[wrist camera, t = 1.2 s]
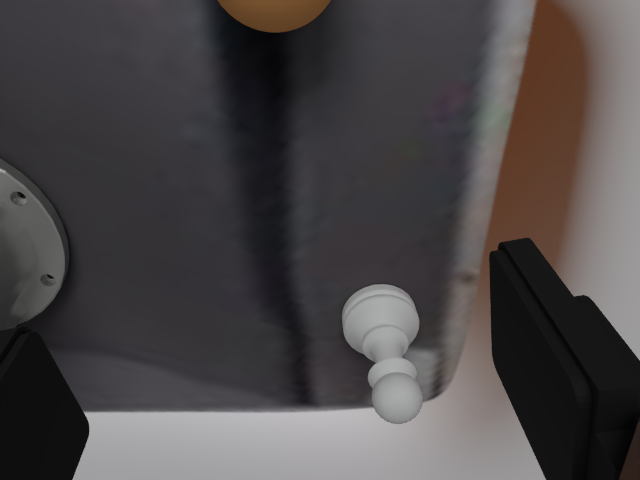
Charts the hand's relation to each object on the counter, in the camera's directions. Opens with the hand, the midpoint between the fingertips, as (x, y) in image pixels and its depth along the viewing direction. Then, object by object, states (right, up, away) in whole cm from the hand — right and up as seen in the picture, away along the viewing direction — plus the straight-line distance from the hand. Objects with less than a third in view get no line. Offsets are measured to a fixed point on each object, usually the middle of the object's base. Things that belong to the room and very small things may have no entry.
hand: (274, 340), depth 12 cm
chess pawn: (+5, -3, +27) cm, 27 cm away
